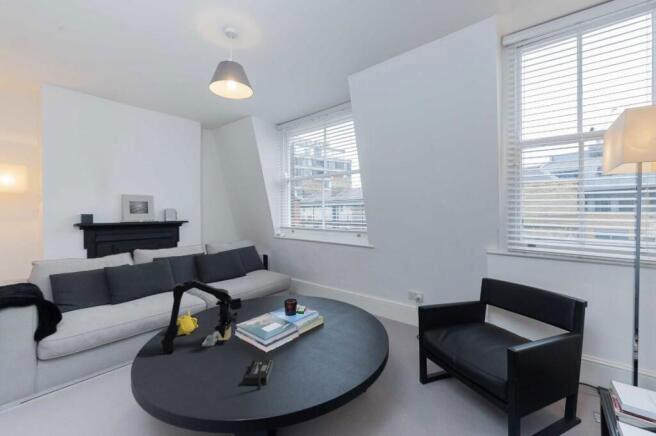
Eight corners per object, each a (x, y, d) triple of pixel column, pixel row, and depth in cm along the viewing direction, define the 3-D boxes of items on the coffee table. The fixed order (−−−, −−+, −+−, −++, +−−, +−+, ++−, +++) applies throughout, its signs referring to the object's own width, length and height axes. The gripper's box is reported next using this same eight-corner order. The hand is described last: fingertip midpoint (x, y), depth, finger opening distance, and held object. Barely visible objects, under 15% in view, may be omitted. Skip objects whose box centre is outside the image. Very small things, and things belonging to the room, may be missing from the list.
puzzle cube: (306, 319, 211) (306, 306, 211) (304, 325, 201) (303, 311, 201) (293, 319, 212) (293, 305, 212) (290, 324, 202) (290, 311, 202)
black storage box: (250, 366, 151) (249, 335, 150) (276, 366, 151) (275, 334, 150) (238, 391, 131) (237, 354, 130) (268, 390, 131) (268, 354, 130)
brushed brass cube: (228, 339, 173) (228, 329, 173) (218, 339, 173) (218, 330, 173) (231, 335, 179) (230, 325, 179) (221, 335, 179) (221, 326, 179)
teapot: (193, 338, 182) (192, 321, 182) (168, 340, 180) (168, 322, 179) (202, 325, 202) (201, 309, 201) (180, 327, 200) (179, 311, 199)
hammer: (213, 346, 172) (213, 338, 172) (202, 346, 172) (201, 339, 172) (222, 333, 189) (222, 326, 189) (211, 333, 189) (211, 326, 189)
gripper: (233, 316, 167) (234, 342, 167) (240, 305, 185) (241, 328, 186) (214, 316, 166) (214, 343, 167) (223, 305, 185) (224, 329, 185)
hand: (224, 335), depth 176 cm, fingers closed on brushed brass cube, 6 cm apart
